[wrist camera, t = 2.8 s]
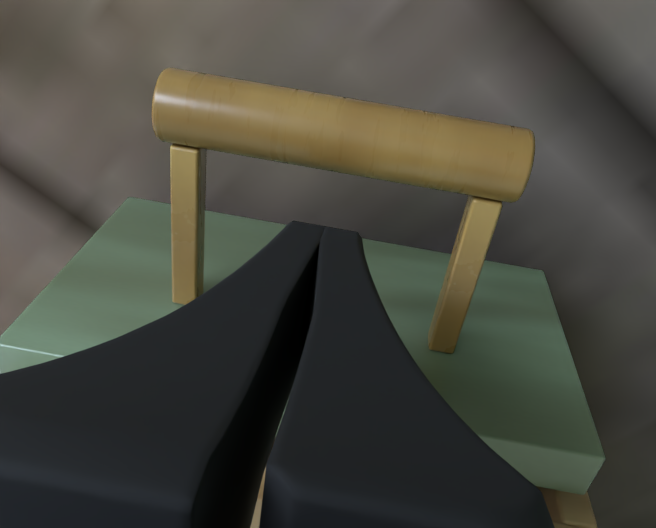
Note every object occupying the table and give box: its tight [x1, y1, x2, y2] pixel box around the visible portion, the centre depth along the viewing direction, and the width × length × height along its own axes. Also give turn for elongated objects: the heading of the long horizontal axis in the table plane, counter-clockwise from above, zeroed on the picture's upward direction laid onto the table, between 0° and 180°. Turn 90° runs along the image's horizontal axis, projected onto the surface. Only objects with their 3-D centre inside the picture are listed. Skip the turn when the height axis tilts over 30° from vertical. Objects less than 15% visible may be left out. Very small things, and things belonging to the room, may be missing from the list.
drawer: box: [0, 68, 605, 495], centre depth 17 cm, size 18×12×7 cm
